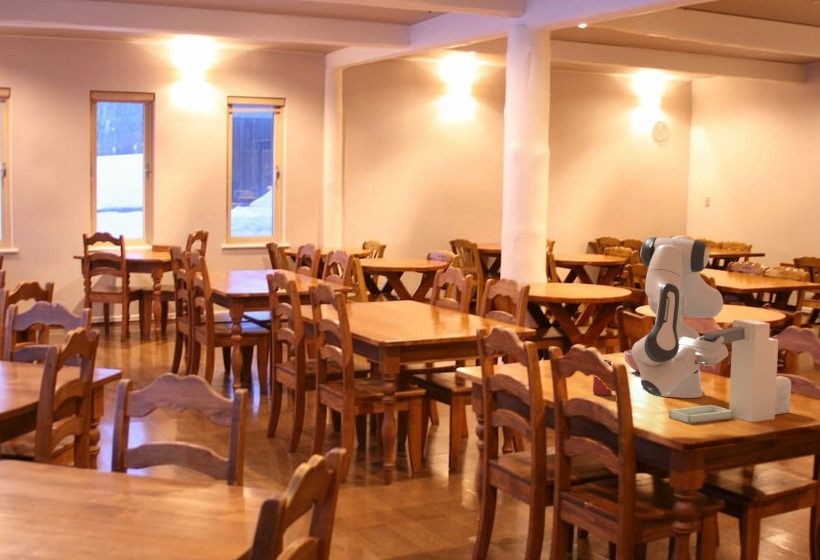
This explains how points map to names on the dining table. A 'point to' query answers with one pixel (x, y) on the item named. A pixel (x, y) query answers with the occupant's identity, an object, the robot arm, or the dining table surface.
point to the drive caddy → (726, 335)
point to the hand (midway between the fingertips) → (715, 336)
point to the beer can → (600, 385)
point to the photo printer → (782, 395)
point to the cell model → (630, 360)
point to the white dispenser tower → (753, 372)
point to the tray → (700, 414)
